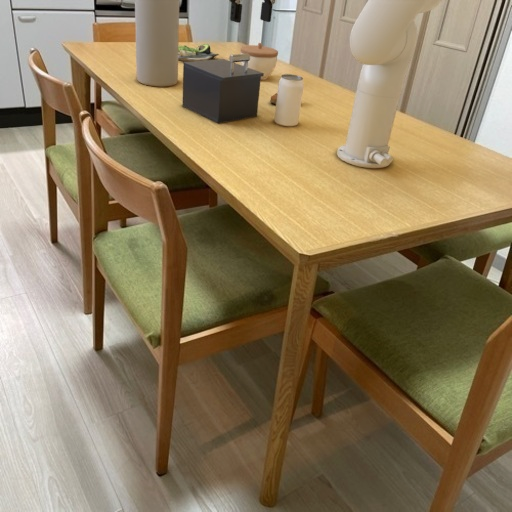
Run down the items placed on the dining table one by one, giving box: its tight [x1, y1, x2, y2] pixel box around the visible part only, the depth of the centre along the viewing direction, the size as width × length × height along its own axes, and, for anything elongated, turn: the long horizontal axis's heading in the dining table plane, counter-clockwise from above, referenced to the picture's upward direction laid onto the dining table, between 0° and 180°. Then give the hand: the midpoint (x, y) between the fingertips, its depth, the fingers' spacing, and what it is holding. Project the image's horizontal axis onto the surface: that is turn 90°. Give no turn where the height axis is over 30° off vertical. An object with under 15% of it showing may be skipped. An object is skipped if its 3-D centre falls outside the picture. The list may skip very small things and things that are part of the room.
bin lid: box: [182, 53, 264, 81], centre depth 134 cm, size 16×14×5 cm
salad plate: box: [178, 43, 220, 62], centre depth 191 cm, size 19×18×5 cm
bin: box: [181, 65, 262, 124], centre depth 138 cm, size 16×14×11 cm
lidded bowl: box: [240, 42, 279, 81], centre depth 175 cm, size 13×13×11 cm
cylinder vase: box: [134, 0, 180, 88], centre depth 154 cm, size 12×12×25 cm
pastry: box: [269, 92, 278, 105], centre depth 153 cm, size 9×7×4 cm
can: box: [273, 73, 305, 128], centre depth 135 cm, size 6×6×12 cm
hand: (250, 21), depth 125 cm, fingers open, 9 cm apart
